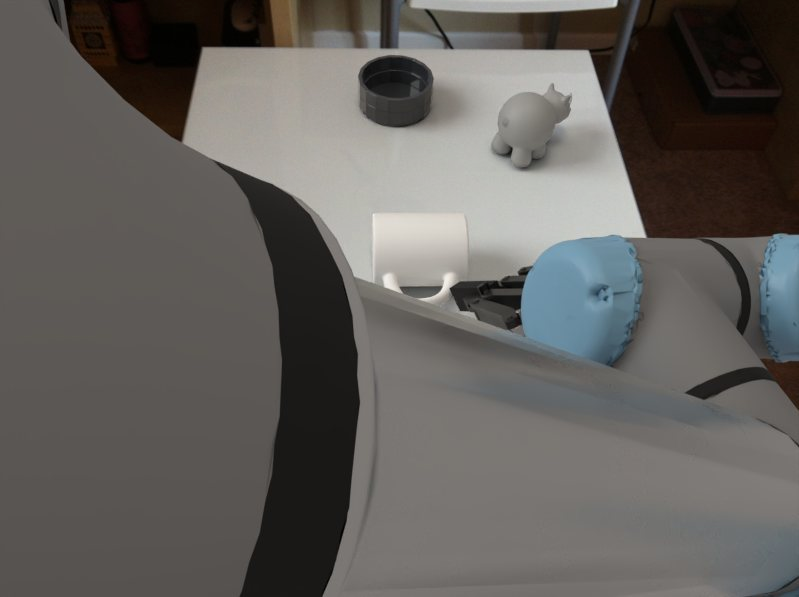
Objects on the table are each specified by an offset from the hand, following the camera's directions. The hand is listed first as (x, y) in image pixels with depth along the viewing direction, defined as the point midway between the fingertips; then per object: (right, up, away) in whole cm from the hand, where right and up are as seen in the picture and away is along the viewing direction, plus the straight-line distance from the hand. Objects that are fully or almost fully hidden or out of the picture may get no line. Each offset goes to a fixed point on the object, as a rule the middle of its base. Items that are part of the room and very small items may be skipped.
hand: (460, 296), depth 76 cm
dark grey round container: (-7, +27, +26) cm, 38 cm away
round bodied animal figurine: (+11, +20, +22) cm, 32 cm away
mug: (-4, +1, +6) cm, 8 cm away
